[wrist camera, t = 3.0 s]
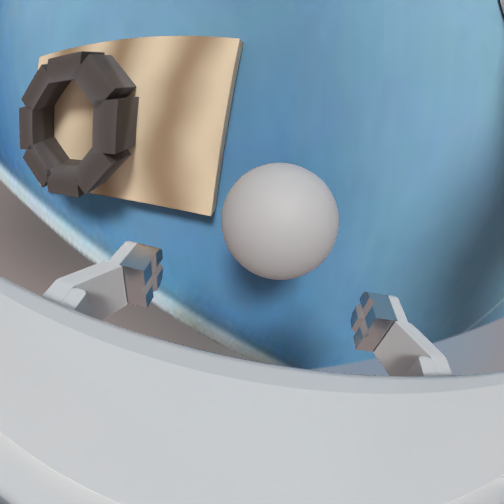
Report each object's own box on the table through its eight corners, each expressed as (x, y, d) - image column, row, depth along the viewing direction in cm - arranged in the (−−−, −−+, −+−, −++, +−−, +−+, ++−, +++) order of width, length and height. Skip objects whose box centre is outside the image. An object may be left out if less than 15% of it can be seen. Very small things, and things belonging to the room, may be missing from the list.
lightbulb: (284, 226, 23) (277, 322, 14) (229, 178, 22) (182, 250, 13) (338, 178, 20) (374, 253, 11) (282, 122, 19) (274, 151, 10)
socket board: (243, 42, 16) (231, 29, 12) (215, 208, 23) (200, 234, 20) (49, 56, 16) (17, 59, 12) (48, 179, 24) (20, 195, 20)
